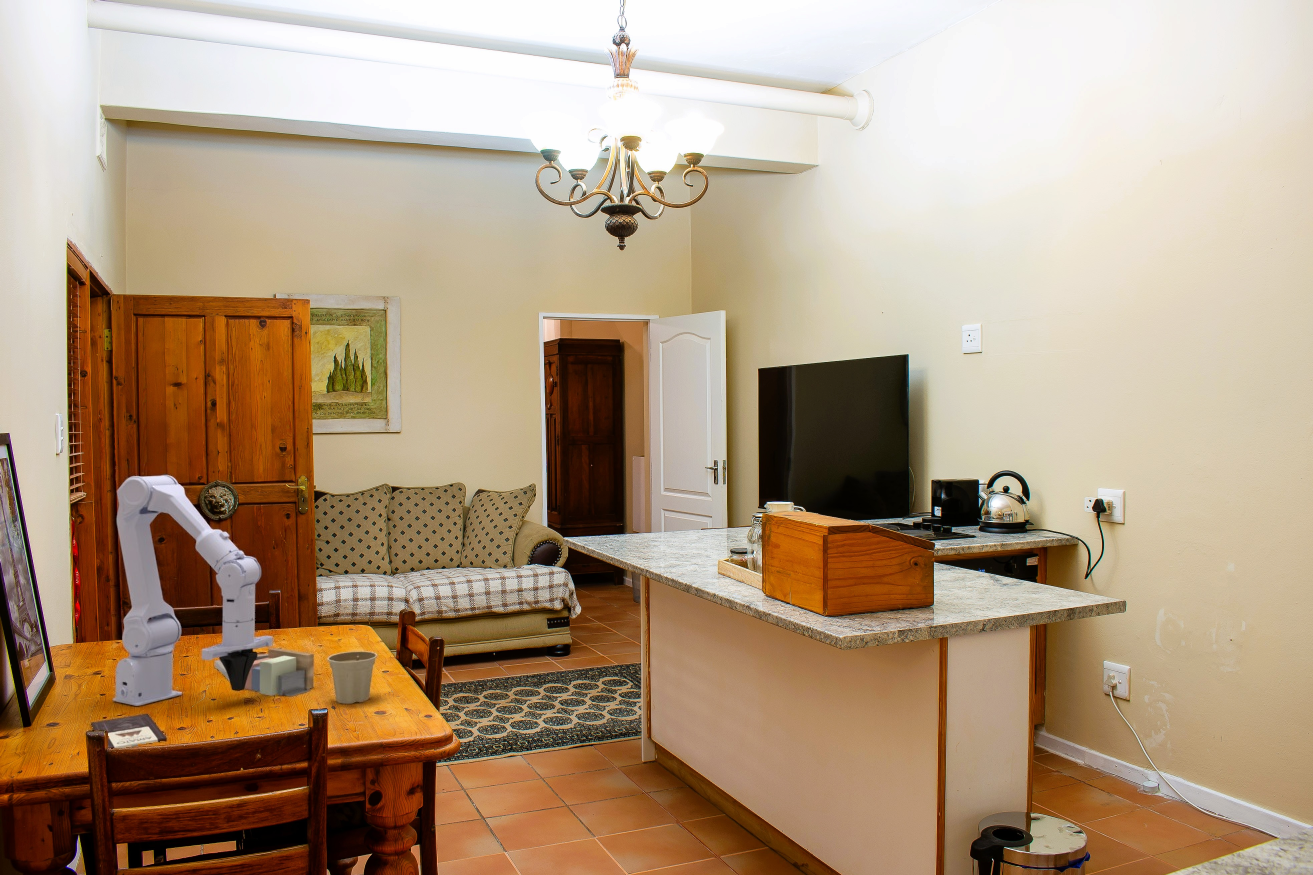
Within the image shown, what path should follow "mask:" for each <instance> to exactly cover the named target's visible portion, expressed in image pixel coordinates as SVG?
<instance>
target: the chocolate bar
mask: <svg viewBox="0 0 1313 875" xmlns="http://www.w3.org/2000/svg"><path fill="white" fill-rule="evenodd" d="M91 725H92V727H93V729H92V731H93V730H106V731H107V732H108V736H109V739H108V748H111V749H113V748H125V749H127V748H126V747H130V748H135V746H136V747H139V746H138V744H146V743H153V742H159V743H161V742H160V741H165V742H167V741H168V740H167V739H168V738H167V737H166V735H165V734H164V732H163V731H162V729H160V727H159V726H158V724H156V723H155V721H154V720H153V719H152V717H151V716H150V715H149V713H142V714H138V715H137V714H136V715H135V714H134V715H130V716H123V717H117V718H111V719H105V720H98V721H93V722H90V726H91ZM92 727H91V728H92ZM153 744H154V743H153ZM141 746H143V745H141ZM141 746H140V747H141Z"/></svg>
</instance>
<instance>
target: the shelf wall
mask: <svg viewBox="0 0 1313 875" xmlns="http://www.w3.org/2000/svg"><path fill="white" fill-rule="evenodd" d="M267 651H268V652H267V654H268V658H277V657H281V656H289V657H296V671H297V670H301V669H305V670H306V689H310V688H311V689H313V688H314V677H315V676H314V675H315V674H314V672H315V671H314V669H315V668H314V664H315V663H314V661H315V658H314V655H315V654H314V653H311V652H305V651H299V650H298V651H297V650H291V649H283V648H277V647H272V648H268V650H267Z"/></svg>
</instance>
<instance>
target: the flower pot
mask: <svg viewBox="0 0 1313 875" xmlns="http://www.w3.org/2000/svg"><path fill="white" fill-rule="evenodd" d="M377 657H378V654H377V653H376V652H372V651H368V650H367V651H366V650H359V651H358V650H356V651H355V650H354V651H346V652H344V651H343V652H339V653H335V654H331V655H329V656H327V658H326V660H327V662H329V667H330V668H331V672H332V673H331V674H332V680H333V687H334V688H333V689H334V694H335V701H336V702H337V703H338V704H342V705H345V704H347V705H352V704H354V703H362V702H363V703H364V702H366V701H368V700H369V699H370V694H371V693H370V692H371V687H372V686H371V685H372V678H373V669H374V665H375V664H376V659H377Z"/></svg>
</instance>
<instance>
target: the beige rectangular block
mask: <svg viewBox="0 0 1313 875" xmlns="http://www.w3.org/2000/svg"><path fill="white" fill-rule="evenodd" d="M293 671H296V657H289V656H281V657H277V658H273V659H269V660H265V661H260V692H259V694H261V695H266V696H270V697H272V696H276V695H278V675H282V674H286V673H289V672H293Z"/></svg>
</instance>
